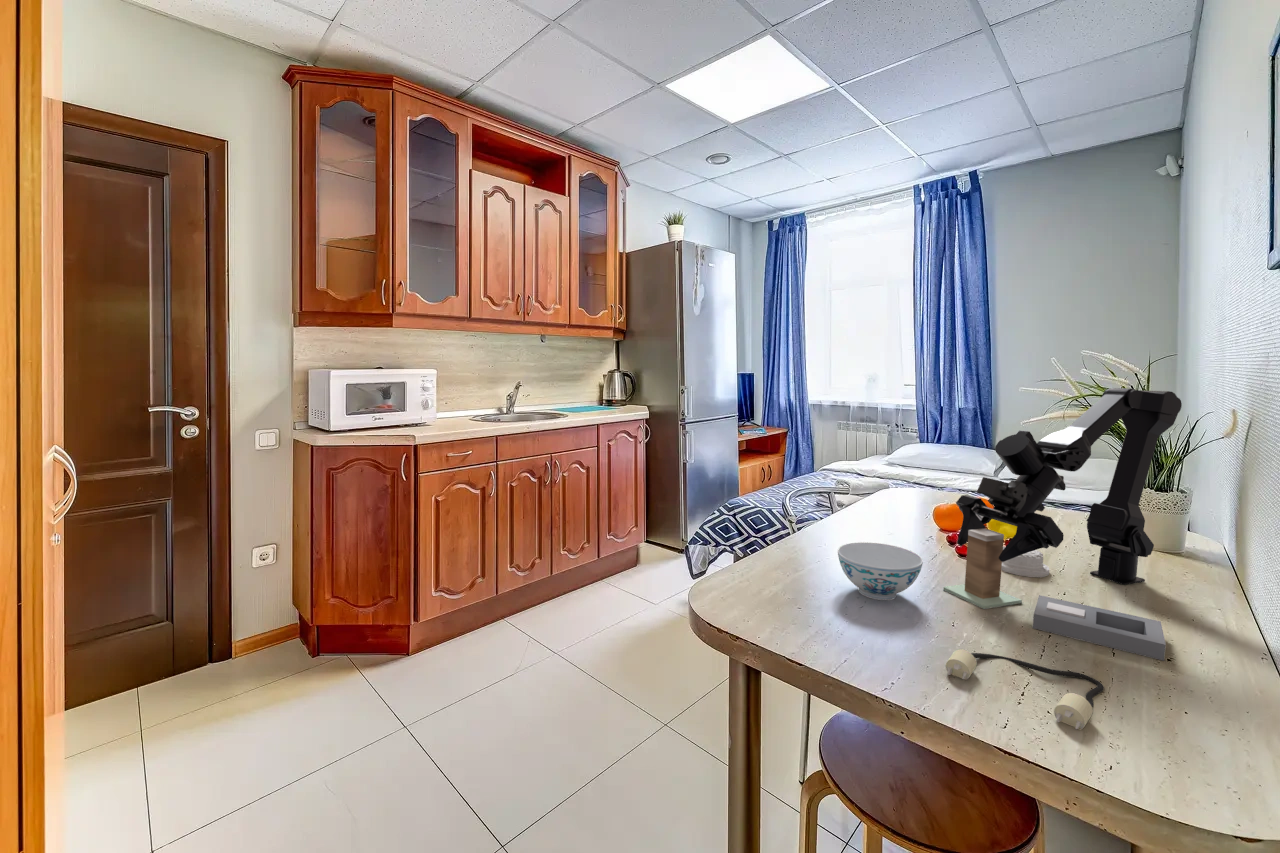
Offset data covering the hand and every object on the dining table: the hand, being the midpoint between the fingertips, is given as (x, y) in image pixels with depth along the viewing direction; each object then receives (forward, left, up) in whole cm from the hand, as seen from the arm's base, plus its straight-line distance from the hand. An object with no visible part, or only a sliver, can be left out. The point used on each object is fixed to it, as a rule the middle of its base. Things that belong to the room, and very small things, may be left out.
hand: (978, 551), depth 103 cm
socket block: (-7, +17, -9) cm, 20 cm away
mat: (-1, 0, -9) cm, 9 cm away
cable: (+19, +24, -10) cm, 32 cm away
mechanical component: (-22, -9, -9) cm, 26 cm away
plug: (-1, 0, -8) cm, 8 cm away
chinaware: (+17, -7, -9) cm, 20 cm away
